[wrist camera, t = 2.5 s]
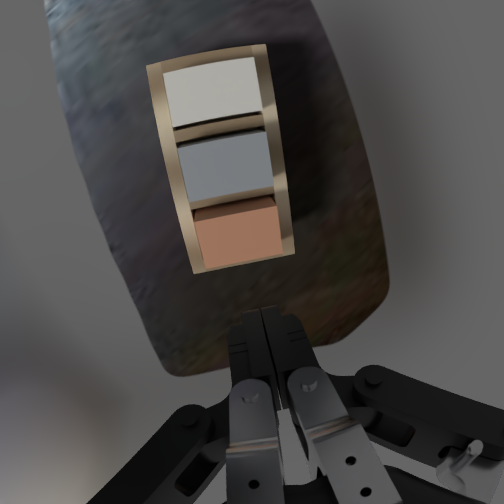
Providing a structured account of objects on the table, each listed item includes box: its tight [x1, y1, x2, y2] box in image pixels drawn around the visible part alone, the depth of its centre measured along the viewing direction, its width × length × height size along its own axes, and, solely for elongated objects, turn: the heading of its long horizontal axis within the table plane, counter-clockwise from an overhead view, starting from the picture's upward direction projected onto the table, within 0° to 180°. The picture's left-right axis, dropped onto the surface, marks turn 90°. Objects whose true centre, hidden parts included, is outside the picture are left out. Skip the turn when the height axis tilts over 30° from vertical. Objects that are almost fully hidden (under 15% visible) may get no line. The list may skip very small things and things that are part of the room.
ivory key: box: [163, 57, 263, 127], centre depth 17 cm, size 4×6×3 cm, turn 99°
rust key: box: [194, 194, 283, 269], centre depth 22 cm, size 4×6×3 cm, turn 99°
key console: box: [146, 44, 295, 274], centre depth 22 cm, size 16×8×6 cm, turn 9°
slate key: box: [177, 130, 274, 202], centre depth 19 cm, size 4×6×3 cm, turn 99°
